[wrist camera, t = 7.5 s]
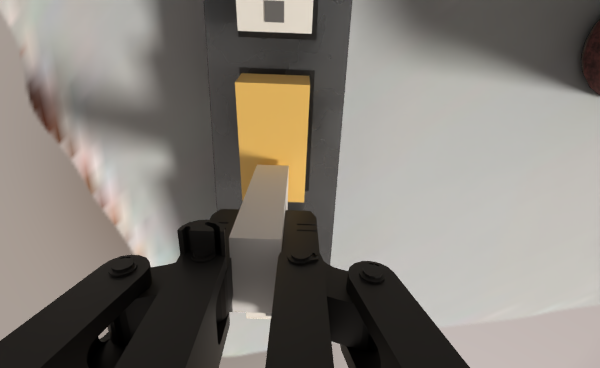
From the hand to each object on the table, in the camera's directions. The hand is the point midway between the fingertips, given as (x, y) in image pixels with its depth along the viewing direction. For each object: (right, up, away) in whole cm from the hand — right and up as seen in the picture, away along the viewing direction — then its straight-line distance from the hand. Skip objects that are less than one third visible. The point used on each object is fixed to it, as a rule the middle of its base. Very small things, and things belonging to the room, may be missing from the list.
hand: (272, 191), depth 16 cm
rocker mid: (0, +3, 0) cm, 3 cm away
